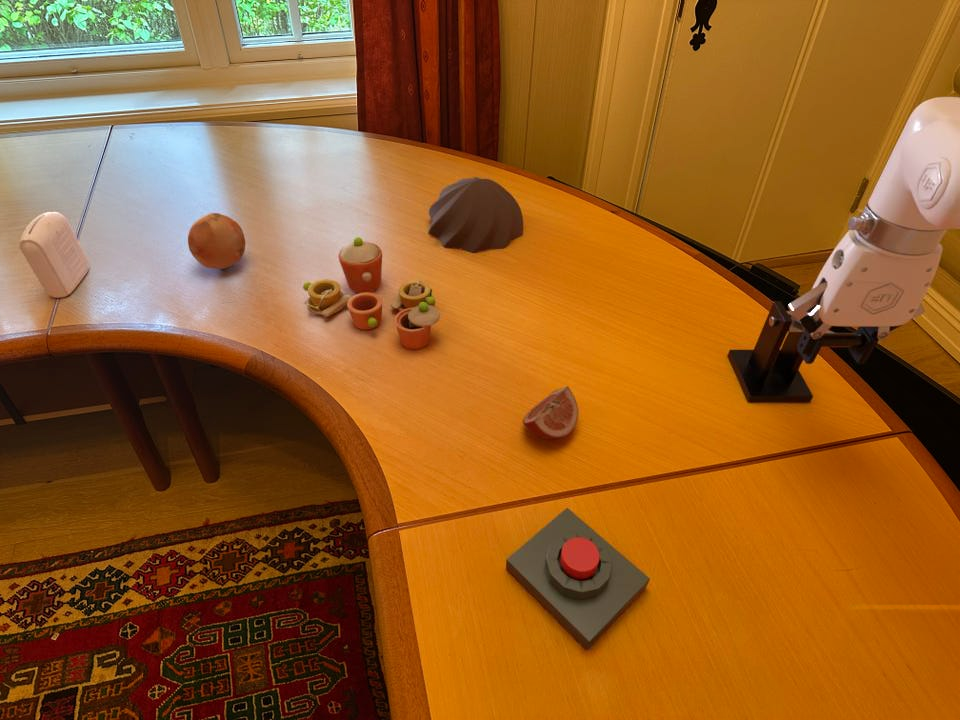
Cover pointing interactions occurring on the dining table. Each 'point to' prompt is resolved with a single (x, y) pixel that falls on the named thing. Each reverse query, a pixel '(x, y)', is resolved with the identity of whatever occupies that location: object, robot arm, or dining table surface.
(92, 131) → the dining table surface
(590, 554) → the button
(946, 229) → the robot arm
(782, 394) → the bracket
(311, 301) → the toy tea set
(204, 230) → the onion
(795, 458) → the dining table surface
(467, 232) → the decorative dome
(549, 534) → the button box
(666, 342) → the dining table surface
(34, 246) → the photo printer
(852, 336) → the lever
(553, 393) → the fruit slice
